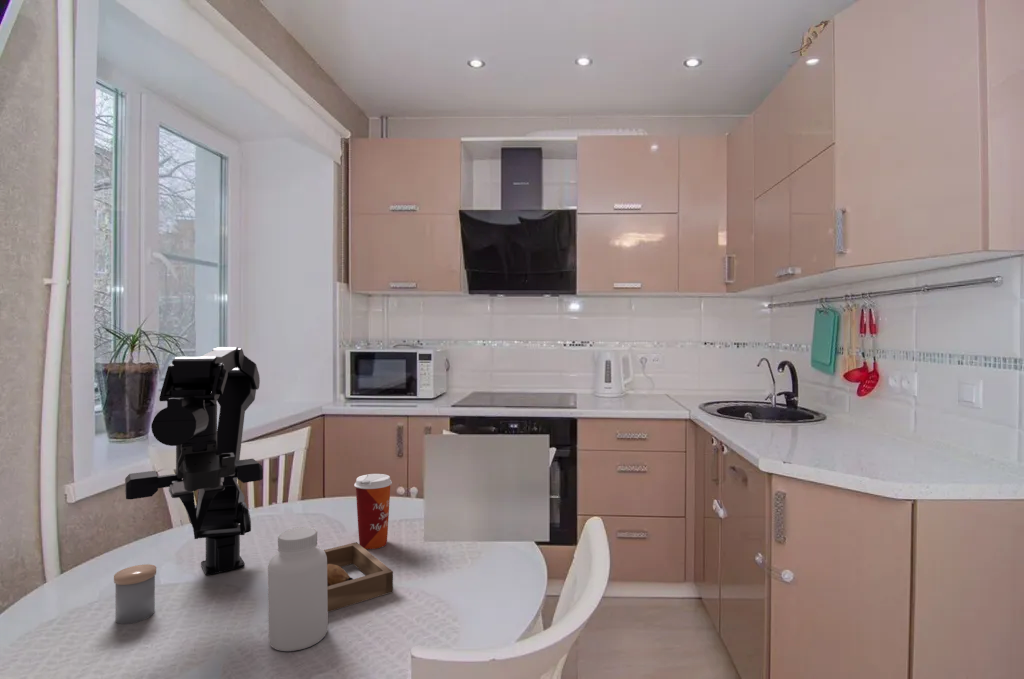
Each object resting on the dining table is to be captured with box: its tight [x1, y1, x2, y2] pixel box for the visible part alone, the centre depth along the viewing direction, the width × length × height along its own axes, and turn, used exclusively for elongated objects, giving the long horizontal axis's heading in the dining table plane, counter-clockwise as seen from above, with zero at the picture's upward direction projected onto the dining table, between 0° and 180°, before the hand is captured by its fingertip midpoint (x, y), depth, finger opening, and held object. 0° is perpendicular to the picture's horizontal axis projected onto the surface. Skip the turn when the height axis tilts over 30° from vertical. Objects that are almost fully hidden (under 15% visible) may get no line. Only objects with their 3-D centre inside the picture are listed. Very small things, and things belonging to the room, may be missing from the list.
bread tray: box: [323, 542, 394, 613], centre depth 92 cm, size 16×15×4 cm
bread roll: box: [327, 564, 354, 586], centre depth 93 cm, size 11×8×4 cm
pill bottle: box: [267, 527, 329, 652], centre depth 77 cm, size 8×8×15 cm
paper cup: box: [354, 473, 393, 550], centre depth 112 cm, size 8×8×14 cm
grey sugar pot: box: [113, 563, 157, 625], centre depth 83 cm, size 5×5×7 cm
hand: (196, 530), depth 86 cm, fingers closed
